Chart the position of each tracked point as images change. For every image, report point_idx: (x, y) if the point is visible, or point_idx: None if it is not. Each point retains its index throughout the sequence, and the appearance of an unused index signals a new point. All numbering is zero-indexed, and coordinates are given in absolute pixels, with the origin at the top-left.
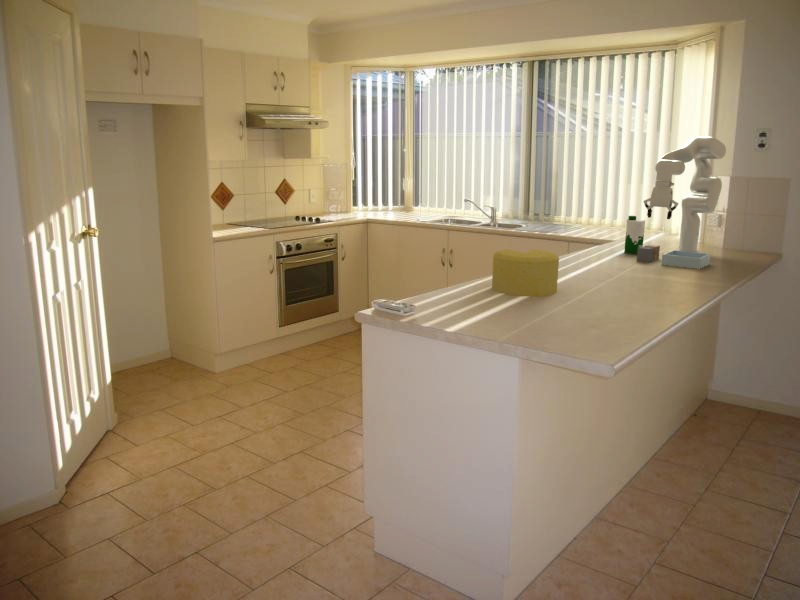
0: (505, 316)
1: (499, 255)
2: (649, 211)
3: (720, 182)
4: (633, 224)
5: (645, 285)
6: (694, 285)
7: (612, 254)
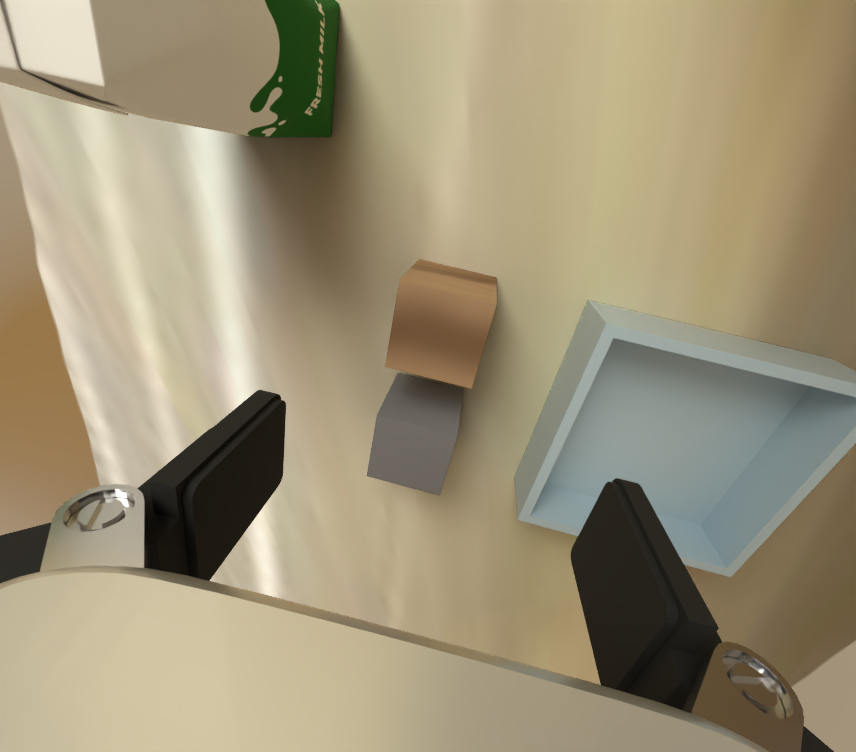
0: None
1: None
2: (212, 565)
3: None
4: (57, 96)
5: None
6: None
7: (204, 246)
